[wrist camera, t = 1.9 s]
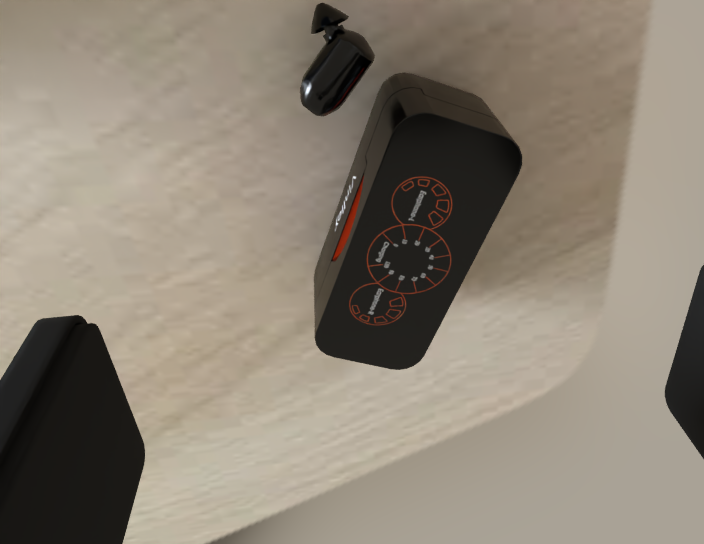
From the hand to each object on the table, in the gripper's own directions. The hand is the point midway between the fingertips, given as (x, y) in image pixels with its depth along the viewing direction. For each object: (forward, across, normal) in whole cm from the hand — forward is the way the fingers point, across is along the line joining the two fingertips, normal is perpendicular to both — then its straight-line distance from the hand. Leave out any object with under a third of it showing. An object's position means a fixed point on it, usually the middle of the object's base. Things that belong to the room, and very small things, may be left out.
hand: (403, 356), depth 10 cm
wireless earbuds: (+7, 0, 0) cm, 7 cm away
